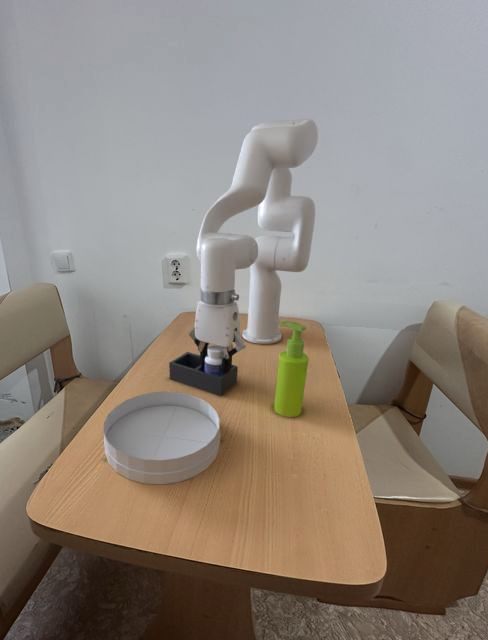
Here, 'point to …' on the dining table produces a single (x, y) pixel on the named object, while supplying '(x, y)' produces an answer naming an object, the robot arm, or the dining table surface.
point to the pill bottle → (214, 360)
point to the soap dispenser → (291, 374)
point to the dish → (161, 437)
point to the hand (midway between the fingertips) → (215, 367)
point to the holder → (201, 374)
